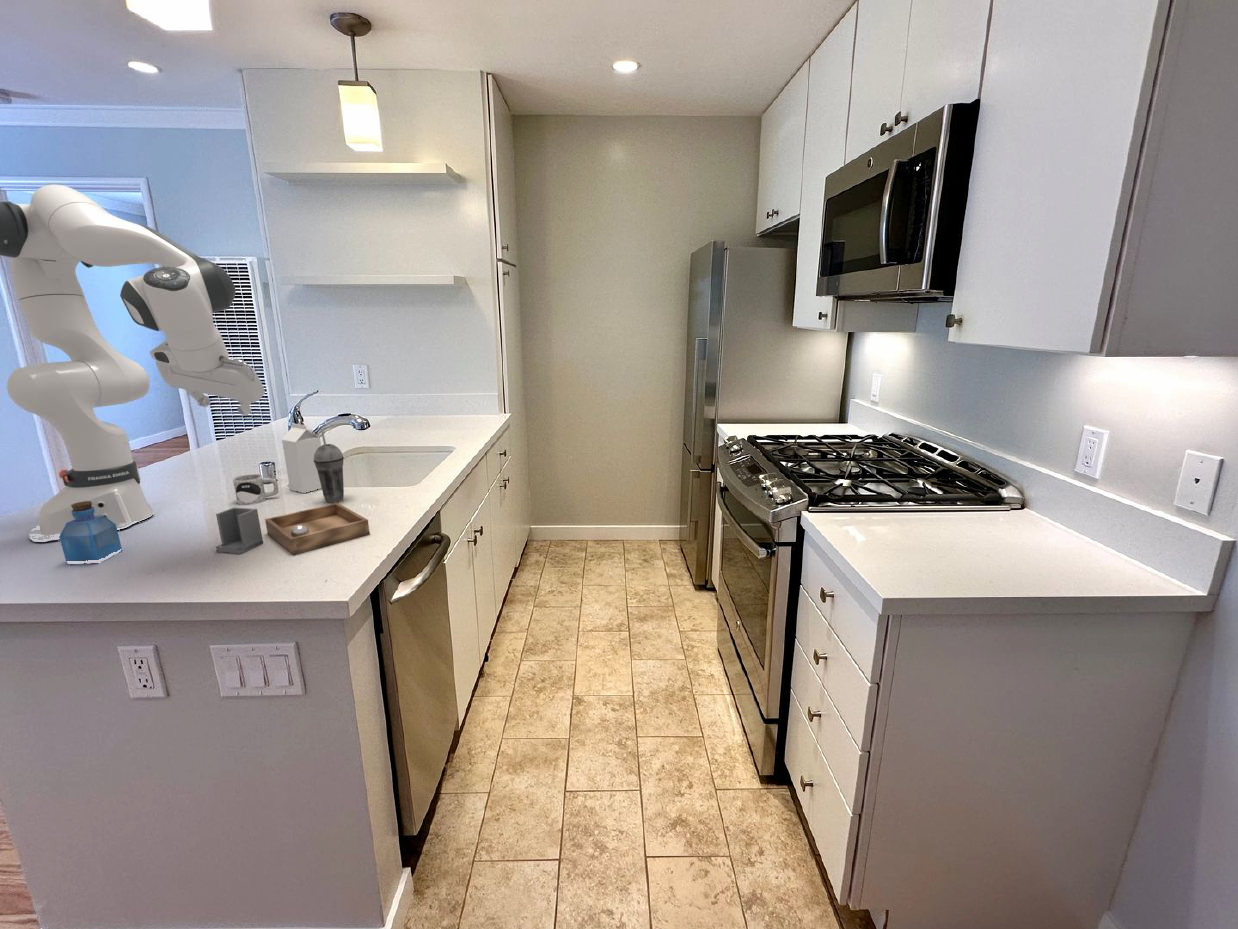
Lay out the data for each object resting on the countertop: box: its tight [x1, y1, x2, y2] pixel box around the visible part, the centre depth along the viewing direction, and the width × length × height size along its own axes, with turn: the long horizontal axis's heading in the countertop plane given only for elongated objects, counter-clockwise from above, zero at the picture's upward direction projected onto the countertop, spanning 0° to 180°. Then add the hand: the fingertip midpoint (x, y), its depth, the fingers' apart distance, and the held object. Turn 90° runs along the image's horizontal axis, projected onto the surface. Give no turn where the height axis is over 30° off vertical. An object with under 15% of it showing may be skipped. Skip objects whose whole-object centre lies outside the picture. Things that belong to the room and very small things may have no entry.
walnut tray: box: [264, 502, 371, 556], centre depth 131 cm, size 16×18×4 cm
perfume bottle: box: [59, 501, 123, 562], centre depth 118 cm, size 6×6×12 cm
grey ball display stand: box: [215, 506, 264, 555], centre depth 123 cm, size 6×6×8 cm
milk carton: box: [281, 422, 322, 494], centre depth 164 cm, size 7×7×19 cm
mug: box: [232, 473, 279, 506], centre depth 156 cm, size 10×7×7 cm
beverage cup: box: [314, 428, 345, 504], centre depth 153 cm, size 7×7×20 cm
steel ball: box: [291, 525, 309, 537], centre depth 125 cm, size 4×4×4 cm
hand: (225, 409), depth 122 cm, fingers open, 8 cm apart
